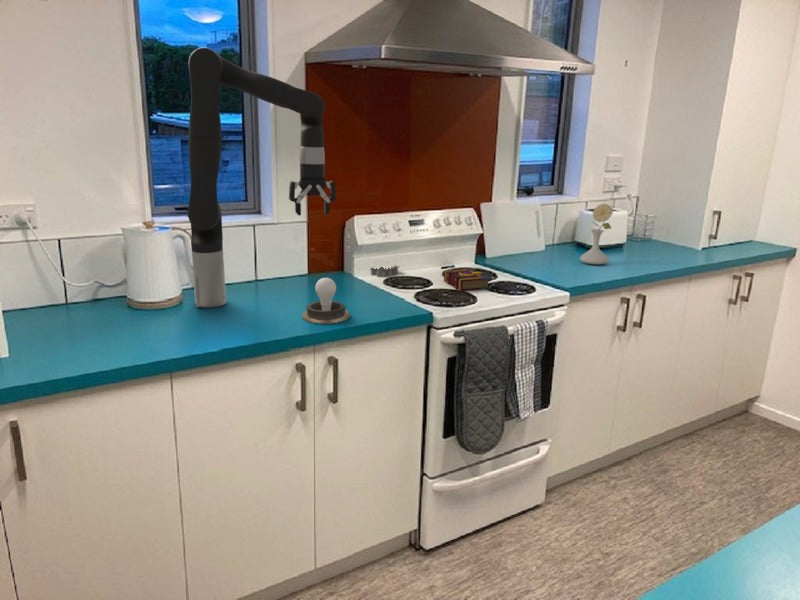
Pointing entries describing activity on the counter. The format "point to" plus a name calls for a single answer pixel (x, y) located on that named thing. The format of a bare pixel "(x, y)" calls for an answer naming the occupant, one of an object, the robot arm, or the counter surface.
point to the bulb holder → (325, 313)
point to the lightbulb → (325, 292)
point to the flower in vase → (598, 236)
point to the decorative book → (466, 279)
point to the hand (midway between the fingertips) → (312, 214)
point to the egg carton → (384, 271)
